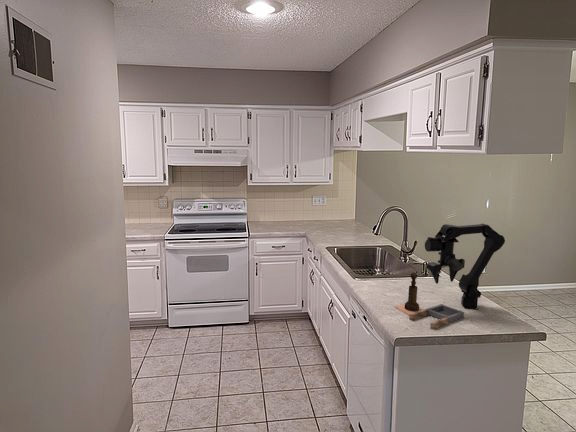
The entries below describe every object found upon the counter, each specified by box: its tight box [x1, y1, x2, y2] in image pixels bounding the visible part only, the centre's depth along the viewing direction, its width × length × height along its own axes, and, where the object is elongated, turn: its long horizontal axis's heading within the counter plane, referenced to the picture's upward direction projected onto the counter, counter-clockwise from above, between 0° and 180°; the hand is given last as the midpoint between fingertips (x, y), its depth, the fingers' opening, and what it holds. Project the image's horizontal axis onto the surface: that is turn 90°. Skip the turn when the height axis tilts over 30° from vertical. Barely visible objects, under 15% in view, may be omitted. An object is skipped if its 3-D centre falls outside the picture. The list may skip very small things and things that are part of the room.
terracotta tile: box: [394, 304, 425, 316], centre depth 200 cm, size 11×11×1 cm
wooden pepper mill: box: [404, 271, 420, 311], centre depth 198 cm, size 7×6×18 cm
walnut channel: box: [408, 308, 449, 330], centre depth 187 cm, size 11×12×2 cm
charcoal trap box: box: [426, 303, 465, 324], centre depth 194 cm, size 12×12×2 cm
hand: (444, 282), depth 201 cm, fingers open, 9 cm apart
